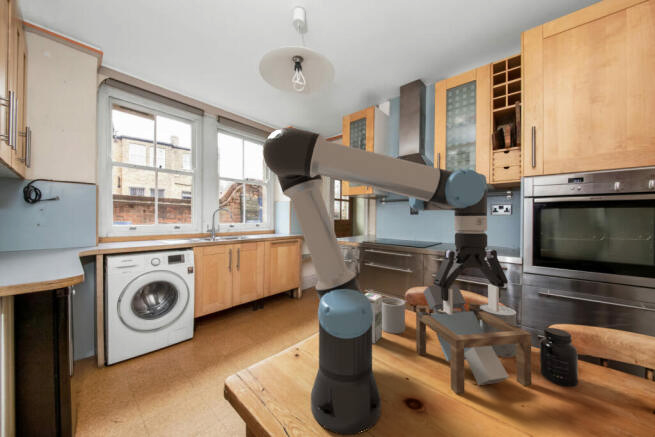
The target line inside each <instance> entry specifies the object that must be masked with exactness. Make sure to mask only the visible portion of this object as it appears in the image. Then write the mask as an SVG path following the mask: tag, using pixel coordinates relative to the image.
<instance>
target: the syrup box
mask: <svg viewBox="0 0 655 437" xmlns="http://www.w3.org/2000/svg"><path fill="white" fill-rule="evenodd" d="M364 295H366V296H367V297H368V298H369V300H370V302H371V305H372V311H373V321H372V344H377V342H378V341H379V340H380V339H381V338H382V336H383V334H382V332H383V330H382V299H383V296H382V295H380V294H377V293H373V292H372V293H371V292H367V293H364Z"/></svg>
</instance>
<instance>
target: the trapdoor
mask: <svg viewBox="0 0 655 437" xmlns="http://www.w3.org/2000/svg"><path fill="white" fill-rule="evenodd" d="M450 289H452V304H453V310H454V309H460V310H461V311H453V315H449V314H448V313H446V312H439V310H443V300H442V299H441V287H439V286H437V285H428V286H427V287H426V288H425V289H424V290H423V294H424V297H425V300H426V303H427V305H428V308H429V310H431V311H434V312H433V313H428V315H430V316H431V317H433V318H434V319H435V320H437V321H438V322H440V323H441V324H443V325H444V326H445V327H447V328H448V329H450V330H451V331H453V332H454V333H455V334H457V335H469V334H482V333H484V332H483V330H482V328H481V326H480V324H479V322H478V320H477V318H476V316H475V314H474V312H473V311H469V310H466V308H465V306H464V305H465V304H467V302H466V300H465V297H464V296H463V294H462V292H461V289H460V288H459V286H458V284H452V285H451V286H450ZM435 334H436V337H437V339H438V342H439V345H440V347H441V350H442V353H443V354H444V357H445V360H446V362H451V344H450V343H448V342H447V341H446V340H444V339H443V338H442V337H441V336H439V335H438V334H437V333H436V332H435ZM470 349H471V348H464V353H465V352H467V351H468V350H470ZM465 360H466V358H465V356H464V361H465Z"/></svg>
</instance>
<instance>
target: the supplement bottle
mask: <svg viewBox="0 0 655 437" xmlns="http://www.w3.org/2000/svg"><path fill="white" fill-rule="evenodd" d="M572 343H573V340H572V334H571V333H570V332H568V331H566V330H563V329H560V328H555V327H546V328H545V329H544V337H542V338H541V339H540V340H539V358H540V359H539V361H540V364H539V366H540V374H541V375H542V377H543V378H545V380H548V382H550V383H552V384H554V385H557V386H560V387H564V388H571V389H572V388H576V387H578V384H579V369H578V368H579V367H578V364H579V362H578V359H579V358H578V350H577V348H576V347H575V346H574V345H573V344H572Z"/></svg>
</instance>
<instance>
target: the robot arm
mask: <svg viewBox="0 0 655 437" xmlns="http://www.w3.org/2000/svg"><path fill="white" fill-rule="evenodd" d="M262 153H263V159H264V162H265V164H266V166H267V167H268V169H269V170H270V171H271V172H272V173H274V175H276V177H277V179H278V183H279V185H280V188H281V189H280V190H281V191H282V195H283V196H285V197H287V198H289V199H290V201H291V203H292V206H293V209H294V212H295V215H296V218H297V221H298V224H299V227H300V230H301V233H302V236H303V239H304V242H305V244H306V247H307V250H308V253H309V256H310V259H311V262H312V265H313V268H314V270H315V273H316V276H317V282H316V284H315V290H316V291H315V292H316V293H317V297H318V299H319V303H318V304H319V305H318V308H317V317H318V369H317V372H316V376H315V379H314V382H313V385H312V389H311V393H310V394H311V395H310V409H311V413H312V415H313V417H314V419H315V420H316V421H317V423H318V424H319V425H321V426H322V425H323V426H325V427H326V428H328V429H330V430H332V431H331V432H333V431H335V432H334V433H336V432H337V433H336V434H340V433H341V434H340V435H356V434H355V433H357V434H360V433H359V432H361V431H364V430H366V429H368V428H370V427H371V426H372V427H373V426H375V424H377V422H378V420H380V419H379V418H380V416H381V412H382V410H381V409H382V406H381V405H382V401H381V393H380V390H379V388H378V384H377V381H376V377H375V374H374V372H373V343H372V321H373V311H372V305H371V302H370V300H369V298H368V297H367V296H366V295H365V293H363V291H362V290H361V287H360V285H359V282H358V279H357V276H356V274H355V272H354V271H352V270H349V269H348V266H347V263H346V261H345V258H344V255H343V253H342V249H341V246H340V244H339V240H338V238H337V235H336V232H335V229H334V226H333V224H332V221H331V218H330V214H329V212H328V208H327V206H326V203H325V200H324V197H323V194H322V191H321V186H322V184H323V178H322V177H327V178H331V179H335V180H340V181H344V182H347V183H351V184H356V185H358V186H359V185H360V186H364V187H368V188H372V189H376V190H378V191H384V192H388V193H392V194H396V195H400V196H405V197H408V201H409V202H408V203H409V206H410V207H411V209H412V210H414V211H423V212H424V211H454V231H456V232H455V233H454V246H455V251H454V250H448V249H445V251H444V255H443V260H442V261H441V265H440V266H439V268H438V271H437V273H436V276H435V277H434V280H433V284H434V286H439V287H441V299H442V300H443V309H442V310H443V313H448V314H449V315H453V312H454V311H453V310H454V309H453V304H452V289H450V286H451V285H454V283H455V281H456V280H457V278H458V277H459V276H460V274H461V273H462V272H463V270H465V269H466V268H478V269H479V270H480V271H481V273H482V274H483V275H484V276H485V278H486V279H487V281H488V282H489V283H490V284H488V285H487V300H488V301H487V302H488V303H487V304H488V308H489V309H492V310H494V311H496V312H499V305H500V298H501V296H502V295H501V288H505V285H507V284H508V283H509V280H508V279H507V276H506V274H505V272H504V269H503V268H502V265H501V263H500V261H499V258H498V252H497V250H496V249H488V248H487V247H488V234H487V233H486V232H487V231H488V182H487V176H486V175H485V174H483V173H479V172H477V171H475V170H473V169H467V168H465V169H458V170H455V171H452V170H447V169H443V168H438V167H434V166H431V165H425V164H422V163H418V162H413V161H410V160H406V159H402V158H398V157H394V156H389V155H385V154H381V153H377V152H374V151H370V150H365V149H361V148H357V147H353V146H349V145H345V144H341V143H338V142H337V143H336V142H332V141H329V140H326V138H325V137H324V135H323V134H321V133H316V132H313V131H309V130H304V129H301V128H294V127H283V128H280V129H277V130H275V131H273V132H272V133H271V134H269V136H268V137H267V139H266V140H265V142H264V145H263V151H262ZM486 248H487V249H486ZM486 260H487V261H486ZM323 426H322V427H323ZM325 427H324V428H325ZM372 427H371V428H372ZM326 428H325V429H326ZM371 428H370V429H371ZM328 429H327V430H328ZM330 430H329V431H330ZM368 430H369V429H368ZM366 431H367V430H366ZM364 432H365V431H364ZM361 433H362V432H361Z"/></svg>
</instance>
